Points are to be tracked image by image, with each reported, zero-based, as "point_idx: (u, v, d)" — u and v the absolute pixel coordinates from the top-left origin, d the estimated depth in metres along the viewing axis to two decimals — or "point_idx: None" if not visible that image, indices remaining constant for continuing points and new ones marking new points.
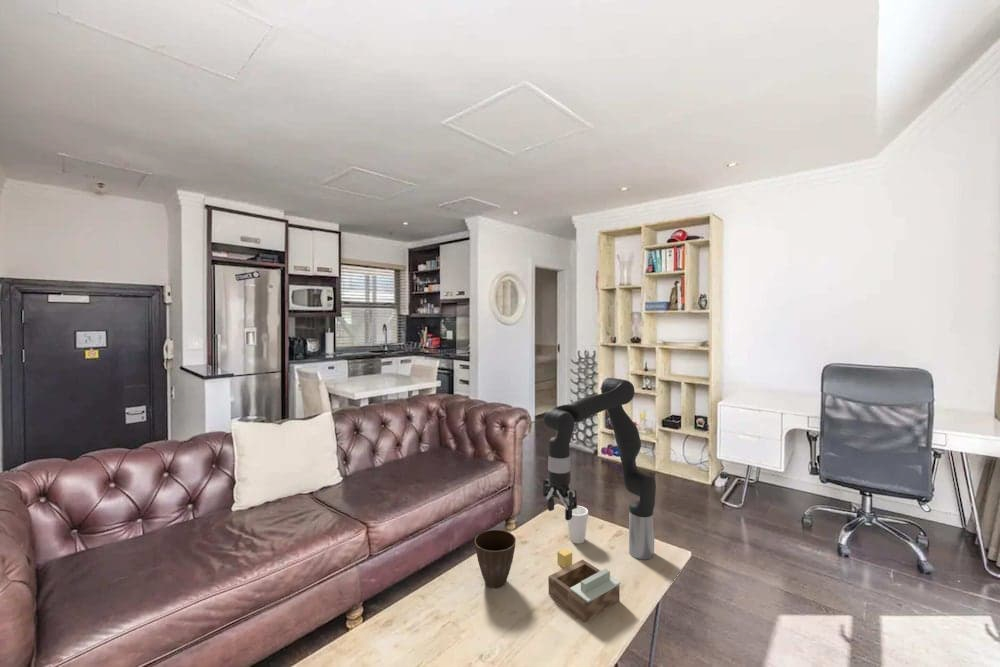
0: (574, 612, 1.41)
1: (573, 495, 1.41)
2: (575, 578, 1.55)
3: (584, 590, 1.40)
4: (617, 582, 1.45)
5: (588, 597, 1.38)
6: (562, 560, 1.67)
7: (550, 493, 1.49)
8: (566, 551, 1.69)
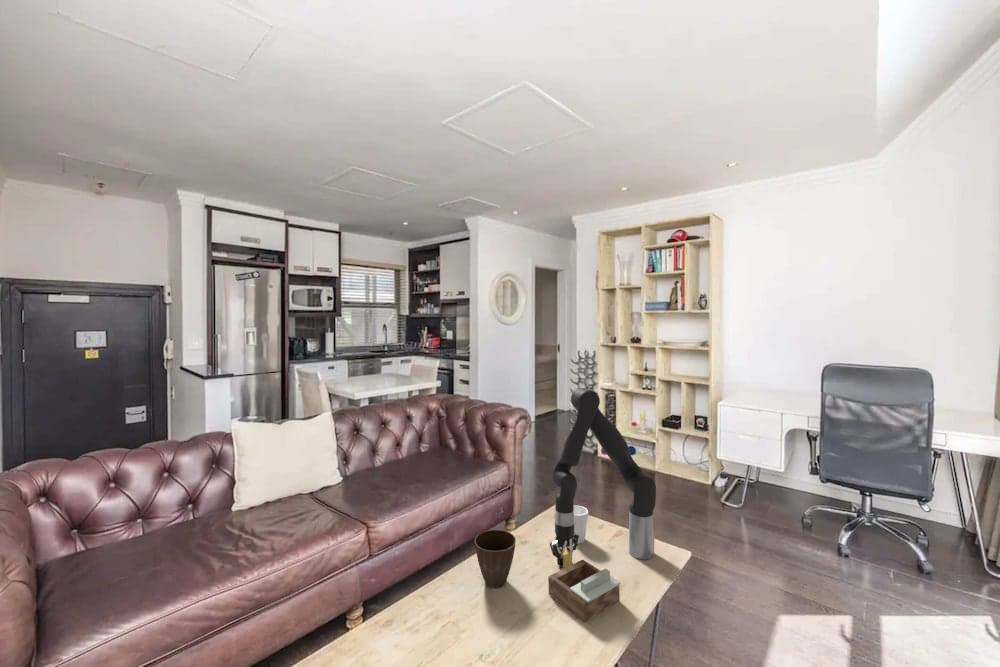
0: (574, 612, 1.41)
1: None
2: (575, 578, 1.55)
3: (584, 590, 1.40)
4: (617, 582, 1.45)
5: (588, 597, 1.38)
6: None
7: (564, 548, 1.66)
8: (566, 551, 1.69)
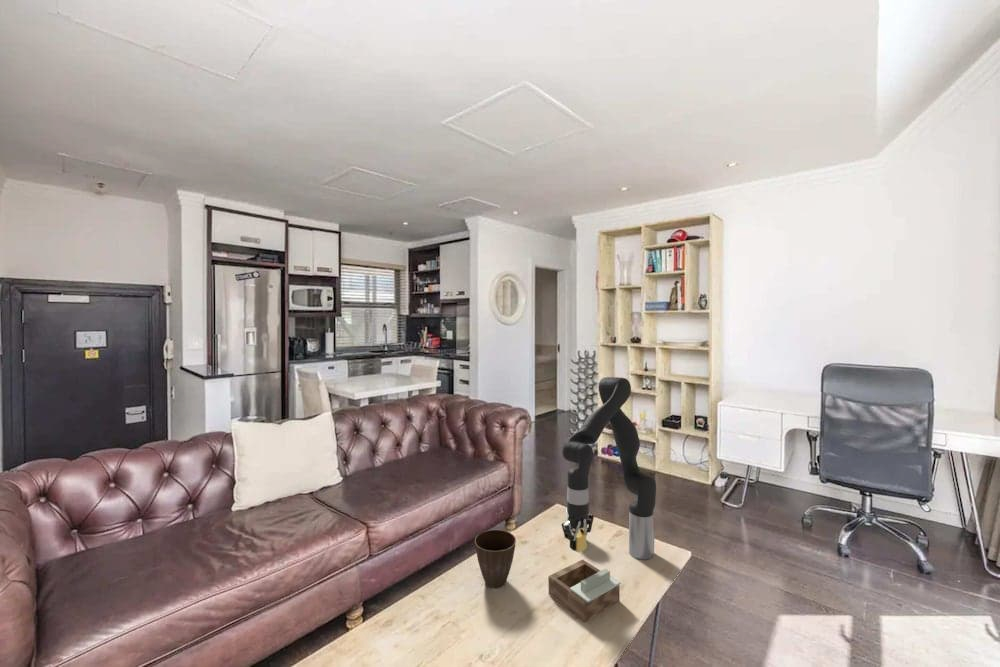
0: (574, 612, 1.41)
1: None
2: (575, 578, 1.55)
3: (584, 590, 1.40)
4: (617, 582, 1.45)
5: (588, 597, 1.38)
6: None
7: (577, 529, 1.47)
8: (579, 533, 1.50)
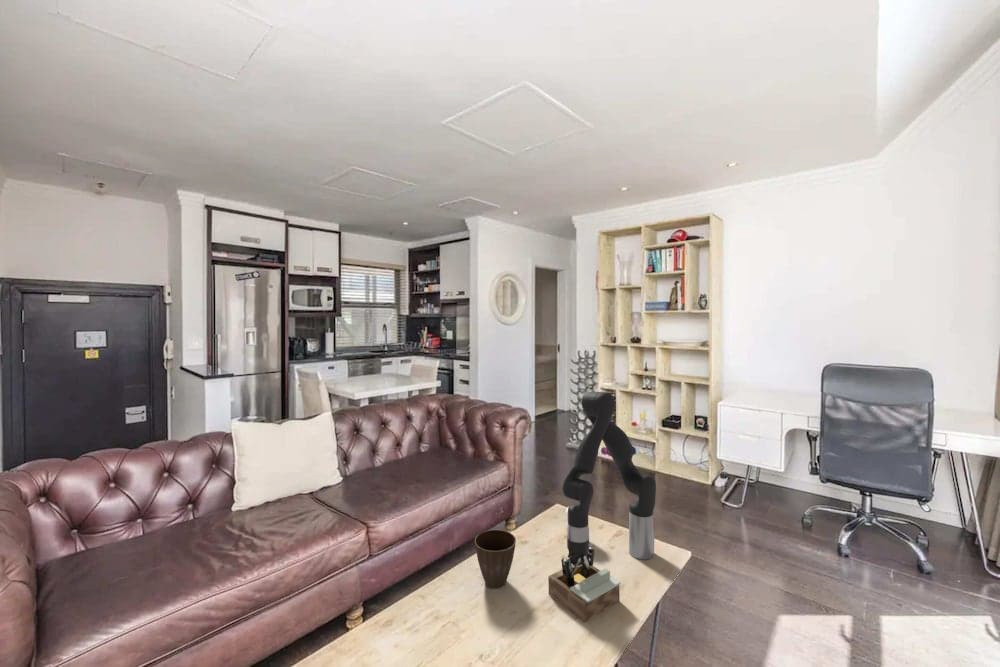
0: (574, 612, 1.41)
1: None
2: None
3: (584, 590, 1.40)
4: (617, 582, 1.45)
5: (588, 597, 1.38)
6: None
7: (577, 566, 1.48)
8: (580, 577, 1.51)
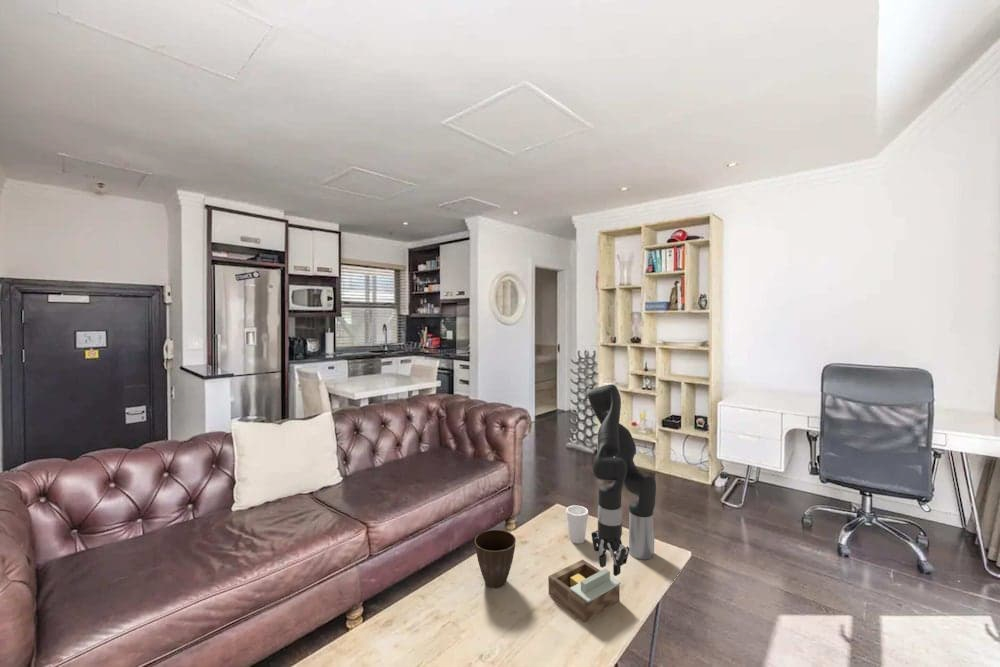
0: (574, 612, 1.41)
1: None
2: None
3: (584, 590, 1.40)
4: (617, 582, 1.45)
5: (588, 597, 1.38)
6: None
7: None
8: (580, 577, 1.51)
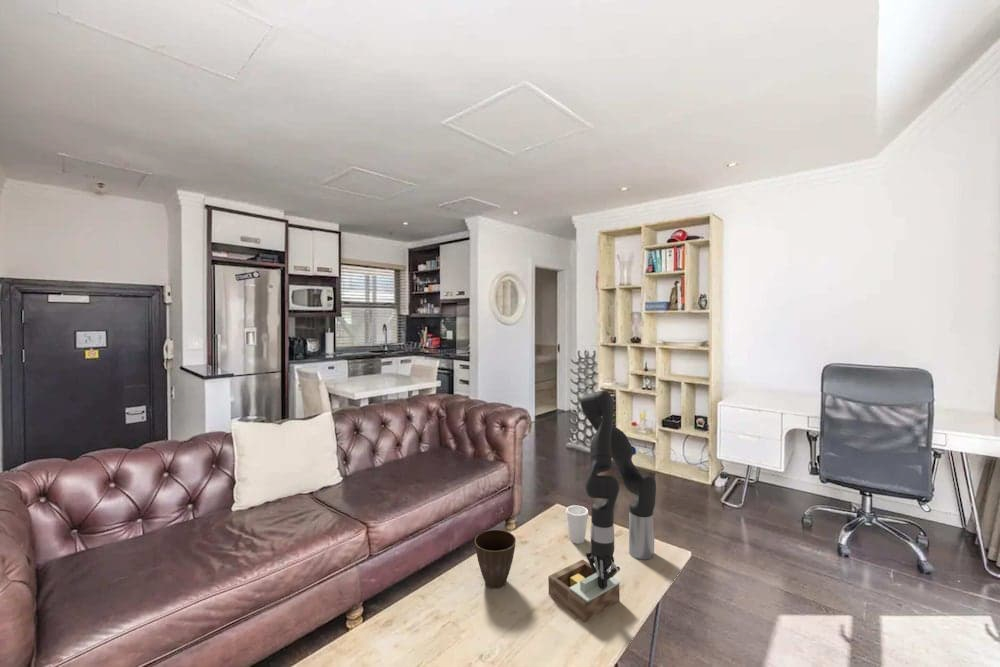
0: (574, 612, 1.41)
1: None
2: None
3: (583, 590, 1.40)
4: (616, 582, 1.46)
5: (587, 597, 1.38)
6: None
7: None
8: (580, 577, 1.51)
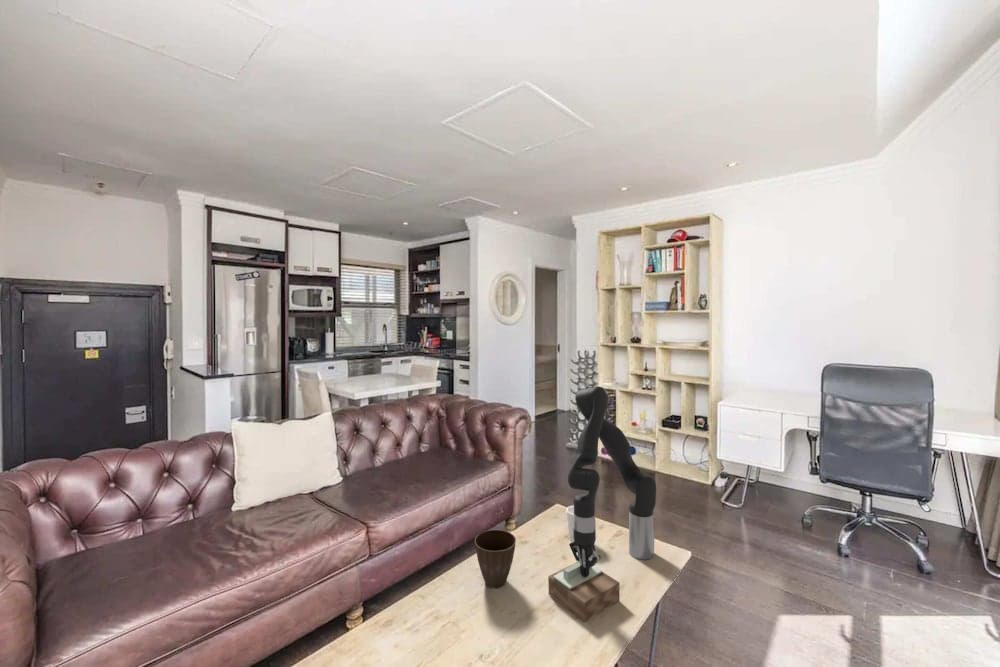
0: (574, 612, 1.41)
1: None
2: None
3: (566, 578, 1.47)
4: (599, 570, 1.52)
5: (570, 584, 1.44)
6: None
7: None
8: None
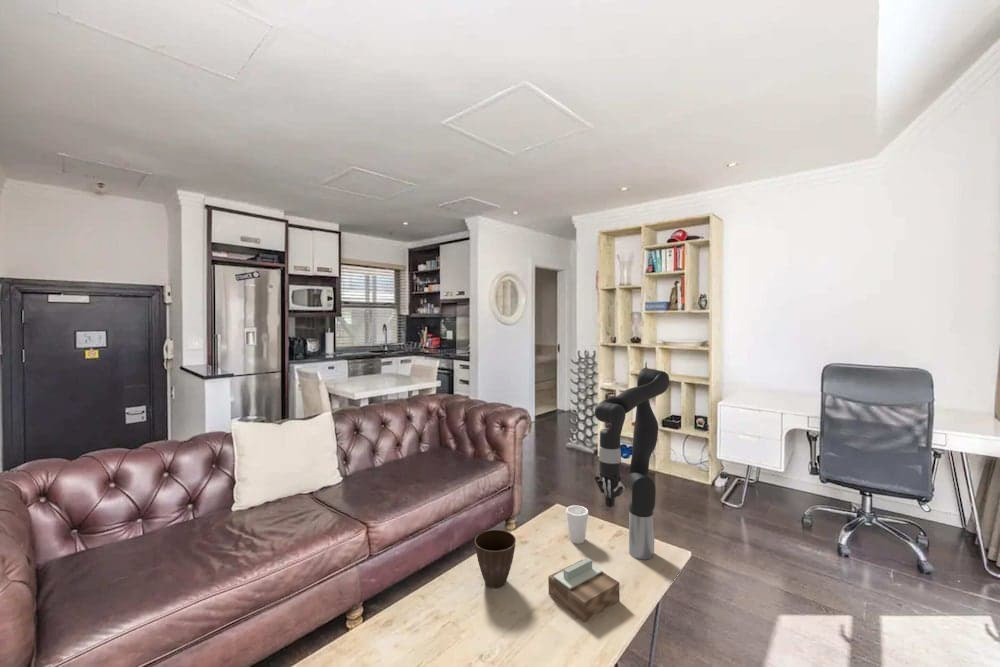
0: (574, 612, 1.41)
1: None
2: None
3: (567, 578, 1.47)
4: (599, 570, 1.52)
5: (570, 584, 1.44)
6: None
7: None
8: None
